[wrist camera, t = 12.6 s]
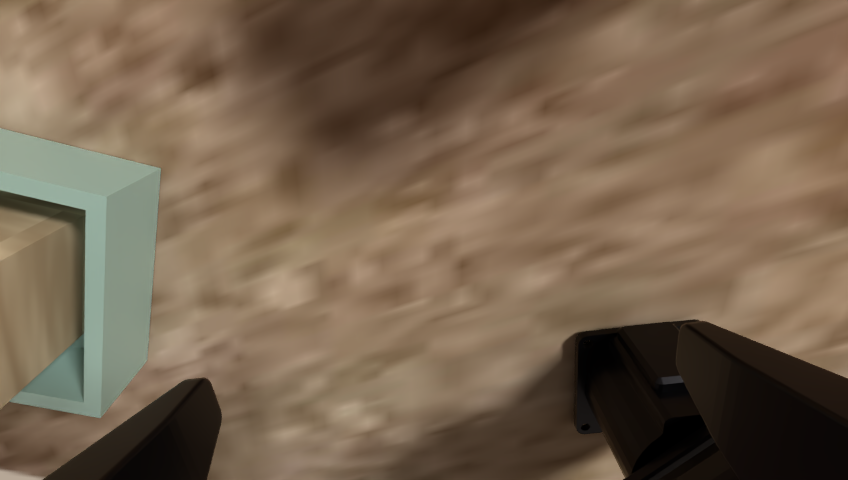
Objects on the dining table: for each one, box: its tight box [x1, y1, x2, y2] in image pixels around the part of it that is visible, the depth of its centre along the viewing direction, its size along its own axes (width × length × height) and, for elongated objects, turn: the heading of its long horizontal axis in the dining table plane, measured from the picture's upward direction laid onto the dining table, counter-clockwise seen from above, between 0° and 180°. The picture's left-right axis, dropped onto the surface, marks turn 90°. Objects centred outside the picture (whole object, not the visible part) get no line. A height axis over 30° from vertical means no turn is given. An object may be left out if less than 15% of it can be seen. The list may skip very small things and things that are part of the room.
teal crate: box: [0, 128, 161, 418], centre depth 20 cm, size 10×10×4 cm
